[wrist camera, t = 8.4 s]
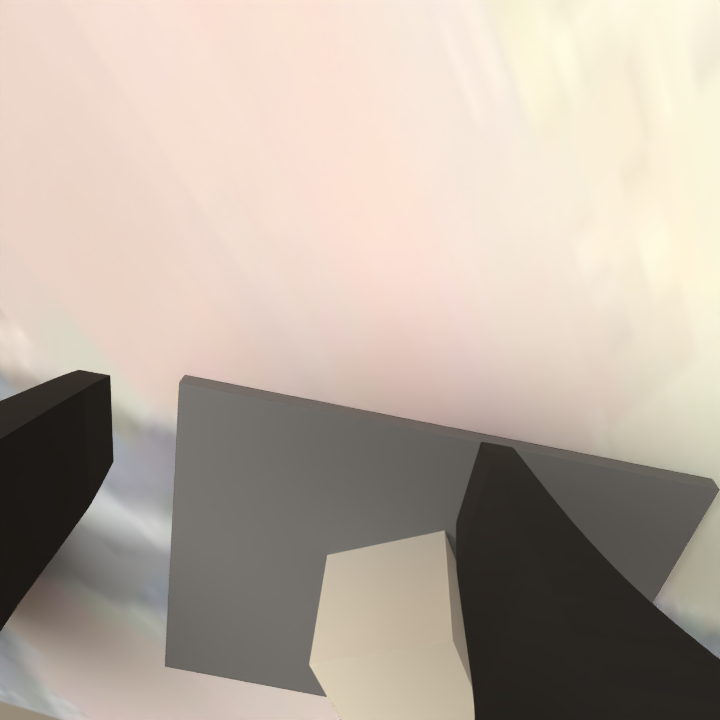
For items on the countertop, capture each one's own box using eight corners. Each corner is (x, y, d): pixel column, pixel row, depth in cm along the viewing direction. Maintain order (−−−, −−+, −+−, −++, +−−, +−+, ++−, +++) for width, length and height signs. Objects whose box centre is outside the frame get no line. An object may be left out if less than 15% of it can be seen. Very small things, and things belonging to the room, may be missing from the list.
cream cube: (444, 530, 24) (452, 640, 19) (476, 616, 26) (490, 733, 21) (327, 555, 25) (309, 664, 20) (366, 635, 27) (357, 751, 22)
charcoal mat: (711, 479, 22) (719, 489, 22) (566, 730, 30) (569, 742, 29) (184, 374, 22) (179, 382, 21) (169, 655, 29) (164, 666, 29)
